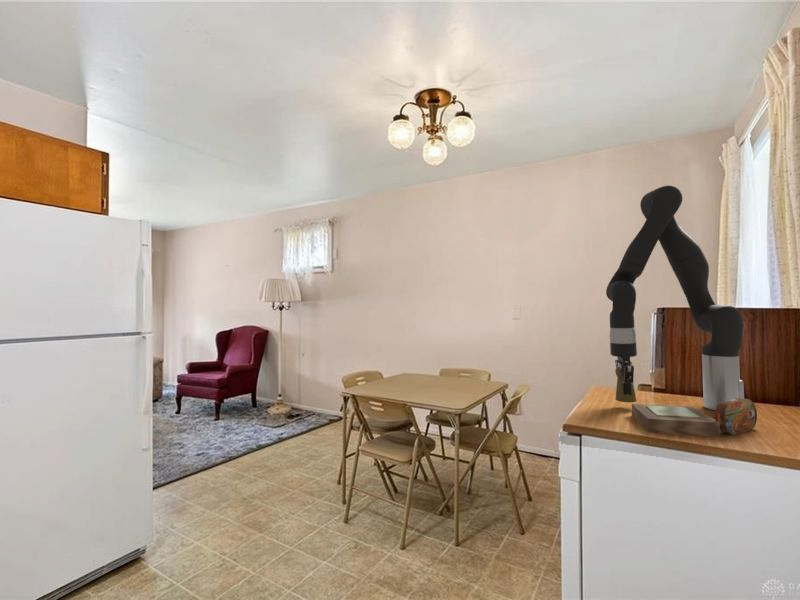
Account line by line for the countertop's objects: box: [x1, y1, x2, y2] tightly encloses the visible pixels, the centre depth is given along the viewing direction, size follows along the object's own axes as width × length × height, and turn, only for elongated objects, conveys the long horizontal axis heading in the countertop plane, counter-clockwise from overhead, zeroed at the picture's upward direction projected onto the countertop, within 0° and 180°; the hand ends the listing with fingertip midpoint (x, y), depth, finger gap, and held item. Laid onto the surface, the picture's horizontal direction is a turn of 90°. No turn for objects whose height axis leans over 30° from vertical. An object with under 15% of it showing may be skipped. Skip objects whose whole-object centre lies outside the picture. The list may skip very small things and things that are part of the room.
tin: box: [714, 398, 758, 436], centre depth 102 cm, size 15×3×8 cm, turn 114°
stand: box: [631, 403, 721, 438], centre depth 108 cm, size 16×16×4 cm
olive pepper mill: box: [615, 367, 637, 403], centre depth 126 cm, size 6×6×11 cm
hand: (625, 393), depth 126 cm, fingers closed on olive pepper mill, 4 cm apart
